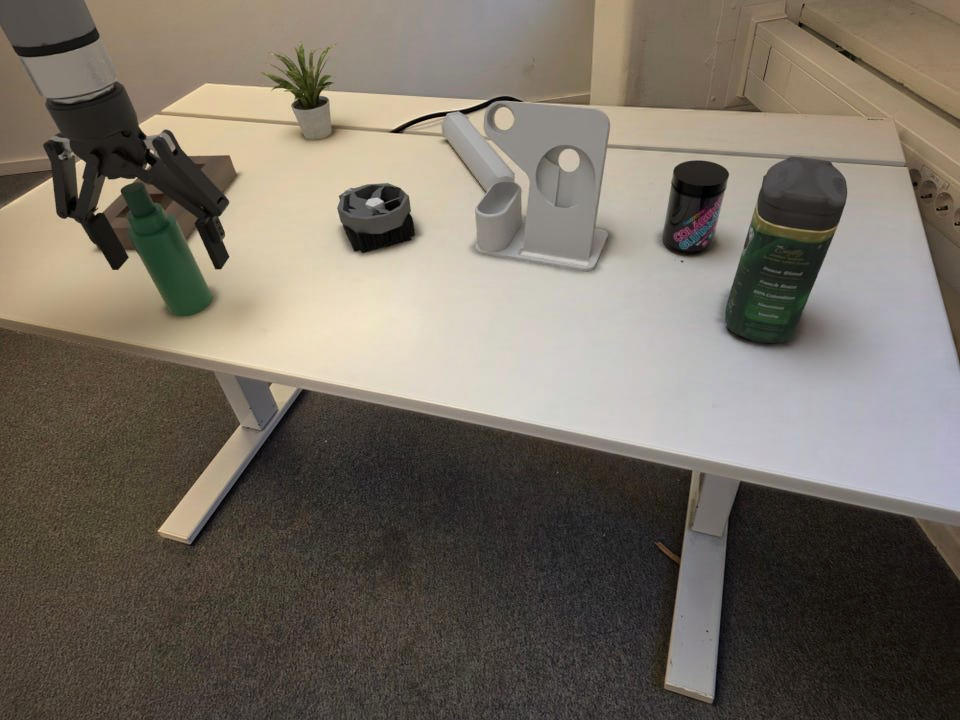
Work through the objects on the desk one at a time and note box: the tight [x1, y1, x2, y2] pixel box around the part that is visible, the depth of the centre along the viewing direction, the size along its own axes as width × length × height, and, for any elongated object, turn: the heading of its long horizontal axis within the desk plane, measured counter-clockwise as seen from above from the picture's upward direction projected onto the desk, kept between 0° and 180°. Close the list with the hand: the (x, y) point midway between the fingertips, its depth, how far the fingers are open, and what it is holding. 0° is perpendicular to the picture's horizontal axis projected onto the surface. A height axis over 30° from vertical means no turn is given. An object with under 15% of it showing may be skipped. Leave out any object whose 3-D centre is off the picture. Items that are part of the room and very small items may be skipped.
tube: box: [440, 110, 516, 193], centre depth 101 cm, size 5×5×25 cm
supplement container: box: [661, 159, 730, 256], centre depth 80 cm, size 7×7×10 cm
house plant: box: [260, 40, 339, 141], centre depth 112 cm, size 14×14×16 cm
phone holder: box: [474, 100, 611, 272], centre depth 79 cm, size 17×10×18 cm, turn 68°
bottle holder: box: [95, 154, 238, 251], centre depth 98 cm, size 13×23×4 cm, turn 175°
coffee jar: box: [724, 156, 848, 344], centre depth 65 cm, size 10×8×19 cm
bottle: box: [120, 182, 213, 317], centre depth 75 cm, size 6×6×17 cm
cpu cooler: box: [336, 182, 416, 254], centre depth 88 cm, size 10×6×10 cm
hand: (171, 263), depth 76 cm, fingers open, 13 cm apart
